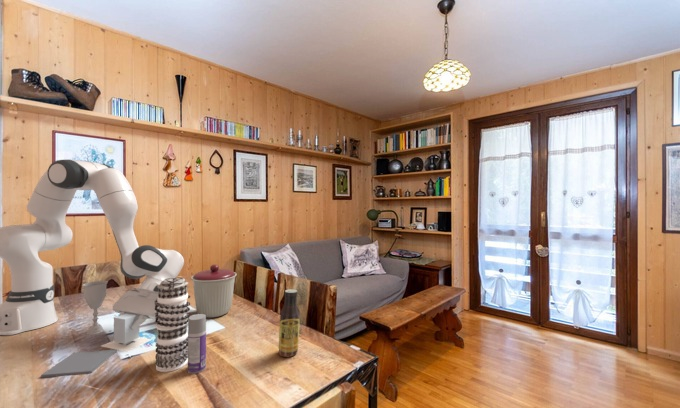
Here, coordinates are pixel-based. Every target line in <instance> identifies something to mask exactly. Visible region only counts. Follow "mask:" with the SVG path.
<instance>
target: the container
mask: <svg viewBox="0 0 680 408" xmlns="http://www.w3.org/2000/svg"><path fill="white" fill-rule="evenodd" d="M188 319H189V322H188V324H187V332H188V341H187V342H188V346H187V348H188V363H187V373H188V374H191V375H193V374H199V373H202V372H203V371H205V370H206V368H207V318H206V315H205V314H198V313H197V314H192V315H189V317H188Z"/></svg>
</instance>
